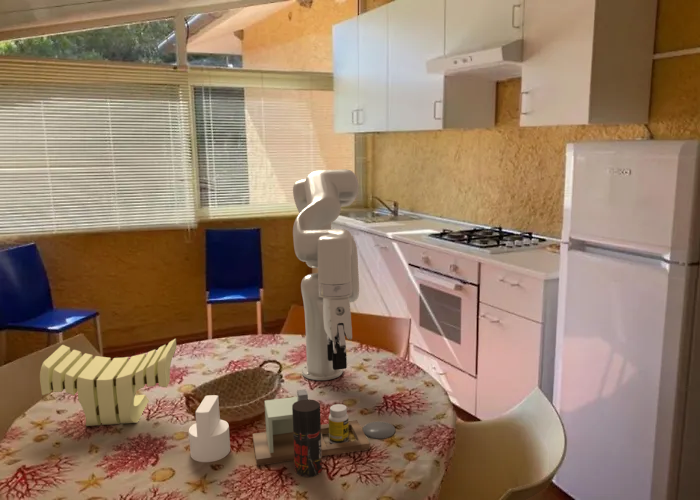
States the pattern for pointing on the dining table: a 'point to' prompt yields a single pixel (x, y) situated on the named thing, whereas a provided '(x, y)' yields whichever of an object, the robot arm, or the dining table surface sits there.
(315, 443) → the deodorant
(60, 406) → the dining table surface
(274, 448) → the board
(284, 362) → the dining table surface
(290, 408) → the cover
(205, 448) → the base with upright slab
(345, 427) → the supplement bottle
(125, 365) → the slatted curved stool
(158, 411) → the dining table surface
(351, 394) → the dining table surface
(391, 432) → the coaster
